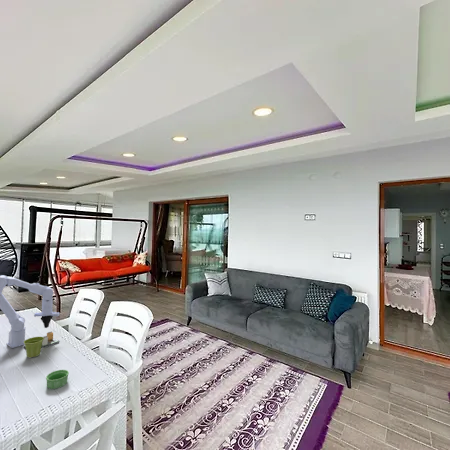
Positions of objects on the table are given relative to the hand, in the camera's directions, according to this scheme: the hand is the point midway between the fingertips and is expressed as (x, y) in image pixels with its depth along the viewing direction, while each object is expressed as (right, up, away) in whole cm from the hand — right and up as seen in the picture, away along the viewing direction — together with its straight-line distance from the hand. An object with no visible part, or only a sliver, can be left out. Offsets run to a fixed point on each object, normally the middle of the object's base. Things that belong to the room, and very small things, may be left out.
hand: (46, 327), depth 170 cm
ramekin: (+38, -8, -48) cm, 61 cm away
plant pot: (+7, -8, -21) cm, 24 cm away
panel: (+3, -8, -9) cm, 12 cm away
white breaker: (+5, -6, -10) cm, 13 cm away
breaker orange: (+4, -6, -3) cm, 8 cm away
